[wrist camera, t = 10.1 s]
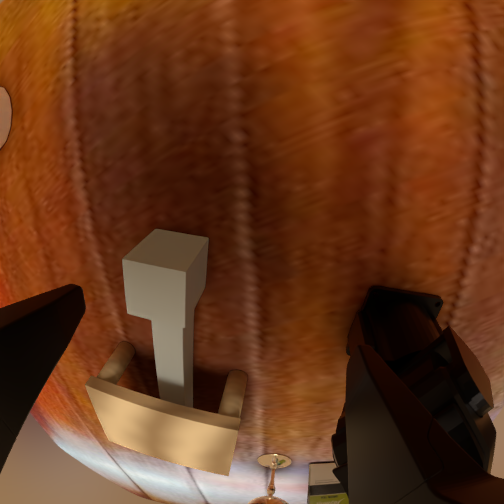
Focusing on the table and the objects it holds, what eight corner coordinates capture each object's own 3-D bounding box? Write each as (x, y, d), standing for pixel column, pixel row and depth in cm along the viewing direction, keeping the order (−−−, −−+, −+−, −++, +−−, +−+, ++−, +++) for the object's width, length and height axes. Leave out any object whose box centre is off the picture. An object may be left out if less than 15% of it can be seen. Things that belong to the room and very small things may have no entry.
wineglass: (247, 452, 33) (231, 533, 22) (292, 450, 31) (284, 536, 21) (259, 469, 35) (247, 542, 24) (300, 467, 33) (293, 543, 23)
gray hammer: (208, 237, 21) (186, 272, 17) (200, 409, 30) (188, 446, 25) (155, 228, 21) (122, 258, 17) (165, 400, 30) (150, 435, 25)
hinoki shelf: (250, 371, 26) (238, 430, 20) (238, 427, 30) (228, 475, 24) (117, 338, 27) (84, 384, 21) (130, 398, 31) (108, 440, 25)
